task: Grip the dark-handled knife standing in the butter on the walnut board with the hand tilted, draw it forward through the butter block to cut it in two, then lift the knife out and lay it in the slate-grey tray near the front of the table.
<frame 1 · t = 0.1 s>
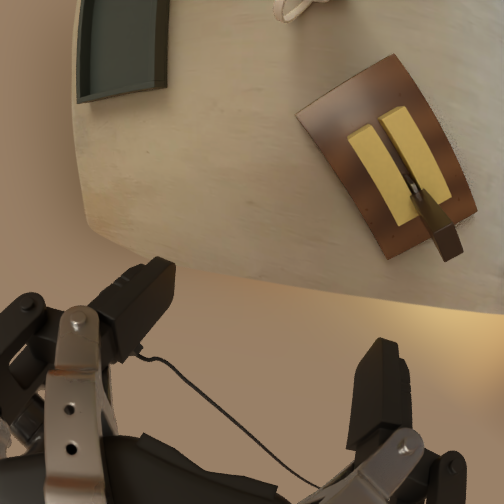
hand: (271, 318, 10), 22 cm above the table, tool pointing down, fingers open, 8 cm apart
butter 1: (411, 152, 24), point 1 cm above the table, touching board
board: (395, 159, 26), on the table
butter 2: (382, 169, 25), point 1 cm above the table, touching board
tray: (125, 27, 26), on the table
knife: (413, 191, 25), point 1 cm above the table, touching board
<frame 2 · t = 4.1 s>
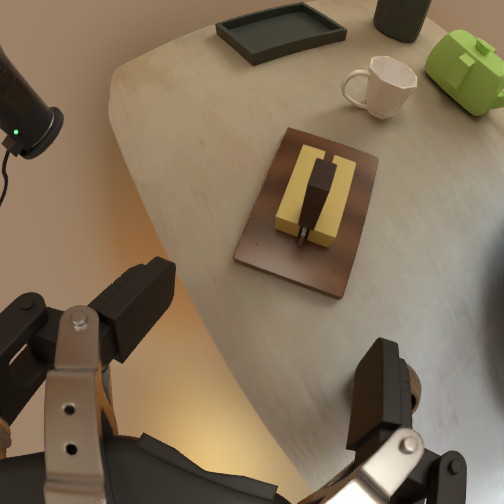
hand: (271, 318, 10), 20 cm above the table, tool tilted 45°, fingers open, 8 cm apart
butter 1: (329, 207, 31), point 1 cm above the table, touching board
board: (313, 206, 33), on the table
vase: (372, 386, 27), on the table
butter 2: (299, 196, 32), point 1 cm above the table, touching board
teapot: (465, 96, 37), on the table
tray: (281, 33, 42), on the table
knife: (304, 230, 31), point 1 cm above the table, touching board
bottle: (394, 31, 42), on the table
cup: (369, 108, 36), on the table
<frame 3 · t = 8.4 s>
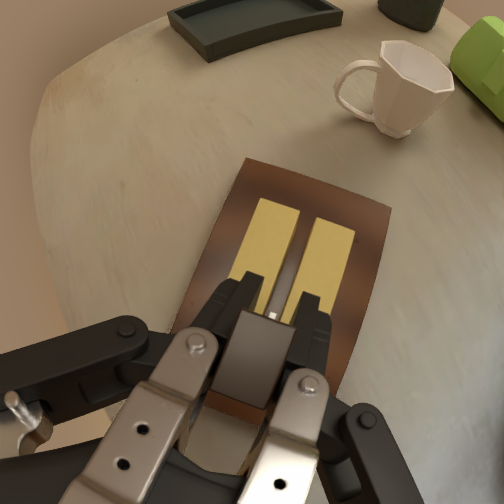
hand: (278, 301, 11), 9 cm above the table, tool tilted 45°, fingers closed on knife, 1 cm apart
butter 1: (305, 302, 19), point 1 cm above the table, touching board
board: (279, 295, 20), on the table
butter 2: (255, 284, 20), point 1 cm above the table, touching board
teapot: (498, 104, 25), on the table
tray: (253, 18, 30), on the table
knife: (261, 345, 18), point 1 cm above the table, touching board, gripper
bottle: (405, 17, 31), on the table
cup: (376, 121, 24), on the table
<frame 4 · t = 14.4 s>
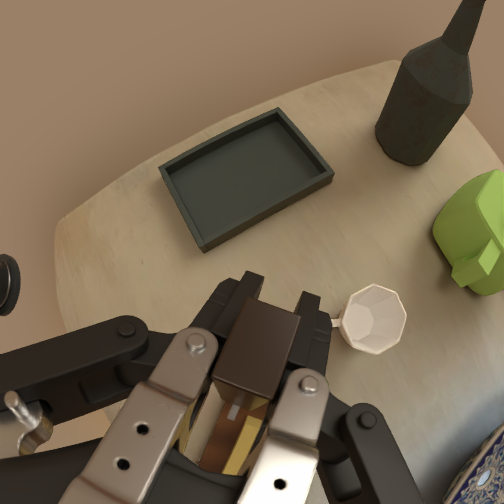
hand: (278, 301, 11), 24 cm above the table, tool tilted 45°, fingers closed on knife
board: (258, 449, 30), on the table
butter 2: (244, 448, 29), point 1 cm above the table, touching board
teapot: (474, 254, 34), on the table
tray: (244, 176, 39), on the table
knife: (242, 391, 17), point 17 cm above the table, tilted 19°, touching gripper
bottle: (402, 141, 40), on the table
ceramic bowl: (484, 476, 24), on the table
cup: (341, 323, 34), on the table
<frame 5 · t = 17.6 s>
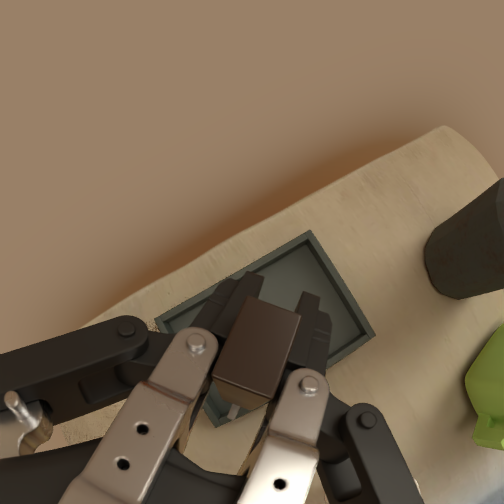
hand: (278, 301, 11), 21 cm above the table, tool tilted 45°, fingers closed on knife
teapot: (498, 385, 27), on the table
tray: (264, 331, 32), on the table
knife: (242, 391, 17), point 14 cm above the table, tilted 19°, touching gripper
bottle: (451, 262, 32), on the table
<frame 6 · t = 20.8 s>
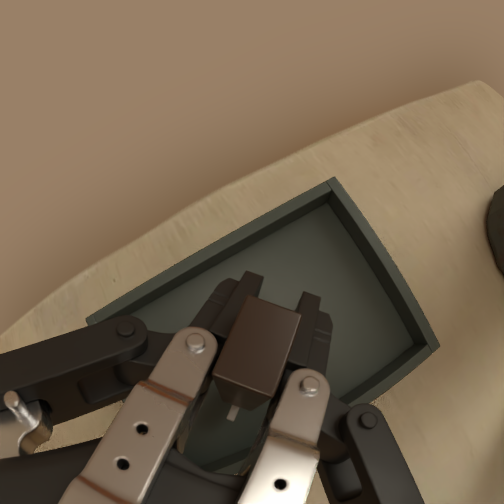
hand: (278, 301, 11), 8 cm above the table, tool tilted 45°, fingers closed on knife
tray: (261, 343, 19), on the table
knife: (242, 392, 17), point 1 cm above the table, tilted 20°, touching gripper, tray
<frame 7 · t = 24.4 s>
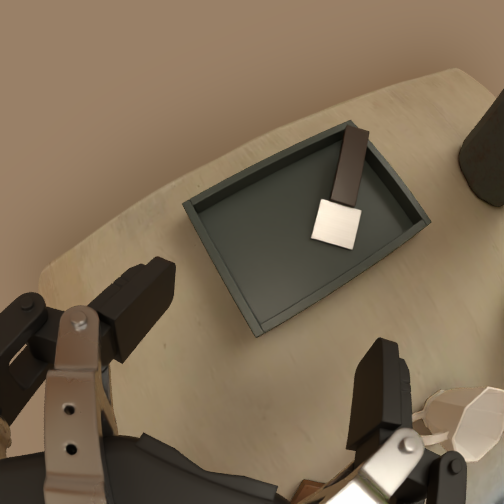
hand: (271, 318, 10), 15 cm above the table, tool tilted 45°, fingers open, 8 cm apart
tray: (310, 220, 28), on the table
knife: (331, 244, 26), point 1 cm above the table, tilted 76°, touching tray
bottle: (484, 174, 28), on the table
cup: (425, 412, 22), on the table
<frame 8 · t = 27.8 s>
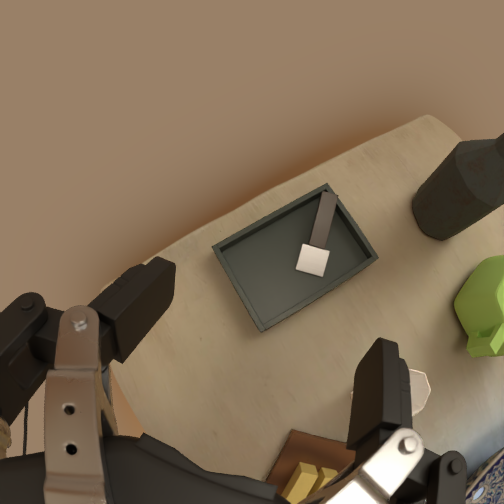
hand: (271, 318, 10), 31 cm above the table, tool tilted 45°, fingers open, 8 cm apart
butter 1: (316, 490, 32), point 1 cm above the table, touching board
board: (304, 484, 33), on the table
butter 2: (295, 486, 32), point 1 cm above the table, touching board
teapot: (485, 317, 38), on the table
tray: (295, 256, 42), on the table
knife: (309, 273, 41), point 1 cm above the table, tilted 76°, touching tray
bottle: (434, 213, 43), on the table
ceramic bowl: (478, 491, 27), on the table
cup: (375, 386, 37), on the table
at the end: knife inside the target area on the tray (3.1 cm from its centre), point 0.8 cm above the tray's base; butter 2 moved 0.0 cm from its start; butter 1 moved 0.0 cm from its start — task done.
